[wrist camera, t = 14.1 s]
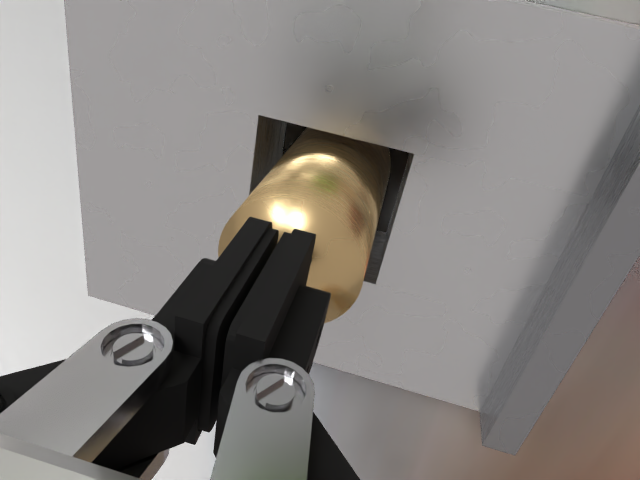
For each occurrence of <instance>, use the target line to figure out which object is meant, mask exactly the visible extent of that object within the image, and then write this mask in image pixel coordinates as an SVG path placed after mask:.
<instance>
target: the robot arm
mask: <svg viewBox="0 0 640 480" xmlns="http://www.w3.org/2000/svg"><path fill="white" fill-rule="evenodd" d="M278 236H279V231H278V230H276V229H273V228H272V222H269V221H265V220H261V219H258V218H254V217H249V218H248V219H247V221H246V222H245V223H244V225H243V226H242V227H241V229H240V230H239V231H238V233H237V234H236V235H235V236H234V238H233V239H232V240H231V242H230V243H229V244H228V246H227V247H226V248H225V250H224V251H223V252H222V254H221V255H220V256H219V258H218V259H217V260H216V261H215V260H211V259H208V258H203V259H201V260H200V261H199V262H198V264H197V265H196V266H195V267H194V269H193V270H192V271H191V272H190V274H189V275H188V276H187V277H186V279H185V280H184V281H183V282H182V284H181V285H180V286H179V287H178V288H177V290H176V291H175V292H174V293H173V295H172V296H171V297H170V298H169V300H168V301H167V302H166V303H165V305H164V306H163V307H162V308H161V310H160V311H159V312H158V313H157V314H156V316H155V317H154V318H153V319H152V320H148V319H137V318H134V319H127V320H122V321H119V322H116V323H113V324H111V325H109V326H108V327H106V328H104V329H103V330H101V331H100V332H99V333H98V334H97V335H95V336H94V337H93V338H92V339H91V340H89V341H88V342H87V343H86V344H84V345H83V346H82V347H81V348H80V349H78V350H77V351H76V352H75V353H73V354H72V355H71V356H70V357H69V358H67V359H65V360H61V361H58V362H54V363H50V364H46V365H42V366H38V367H35V368H31V369H27V370H23V371H19V372H15V373H12V374H8V375H4V376H0V480H151V479H152V478H153V477H154V475H155V474H156V473H157V471H158V470H159V469H160V467H161V466H162V465H163V463H164V462H165V460H166V458H167V456H168V454H169V449H170V448H172V447H175V446H177V445H180V444H182V443H184V442H187V443H190V444H194V445H195V444H196V442H197V440H198V438H199V436H200V434H201V432H202V430H203V431H206V432H210V431H211V430H212V428H213V426H214V424H215V422H216V420H217V422H216V432H215V442H214V451H213V453H214V455H215V457H216V461H215V465H214V468H213V472H212V475H211V479H210V480H360V479H359V477H358V476H357V475H356V473H355V472H354V470H353V469H352V467H351V466H350V464H349V463H348V462H347V460H346V459H345V457H344V456H343V454H342V453H341V451H340V450H339V448H338V447H337V446H336V444H335V443H334V441H333V440H332V438H331V437H330V435H329V434H328V433H327V431H326V430H325V428H324V427H323V425H322V424H321V422H320V421H319V419H318V418H317V417H316V415H315V414H314V412H313V407H314V396H315V391H314V384H313V382H312V380H311V378H310V376H309V372H310V369H311V366H312V363H313V360H314V357H315V354H316V350H317V347H318V344H319V340H320V337H321V333H322V330H323V326H324V322H325V318H326V314H327V310H328V306H329V302H330V297H331V293H330V292H326V291H322V290H319V289H315V288H312V287H308V286H306V284H307V279H308V274H309V269H310V264H311V259H312V255H313V250H314V245H315V240H316V234H314V233H310V232H306V231H302V230H299V229H294V230H293V231H292V233H287V232H284V233H283V235H282V237H281V238H280V240H279V242H278ZM277 242H278V243H277Z"/></svg>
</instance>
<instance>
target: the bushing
mask: <svg viewBox="0 0 640 480" xmlns="http://www.w3.org/2000/svg"><path fill="white" fill-rule="evenodd" d="M390 171H391V157H390V153H389V149H388V147H385V146H381V145H377V144H373V143H369V142H365V141H361V140H357V139H353V138H349V137H345V136H341V135H337V134H333V133H329V132H325V131H321V130H317V129H313V128H309V127H307V128H306V129H305V130H304V131H303V132H302V134H301V135H300V136H299V137H298V138H297V139H296V141H295V142H294V143H293V144H292V145H291V147H290V148H289V149H288V150H287V151H286V153H285V154H284V155H283V156H282V157H281V158H280V160H279V161H278V162H277V163H276V164H275V166H274V167H273V168H272V169H271V170H270V172H269V173H268V174H267V175H266V176H265V177H264V179H263V180H262V181H261V182H260V183H259V185H258V186H257V187H256V188H255V189H254V190H253V192H252V193H251V194H250V195H249V196H248V198H247V199H246V200H245V201H244V202H243V204H242V205H241V206H240V207H239V208H238V209H237V211H236V212H235V213H234V214H233V215H232V217H231V218H230V219H229V220H228V222H227V223H226V225H225V227H224V229H223V230H222V233H221V236H220V239H219V245H218V258H219V256H220V255H221V254H222V252H223V251H224V250H225V248H226V247H227V246H228V244H229V243H230V242H231V240H232V239H233V238H234V236H235V235H236V234H237V233H238V231H239V230H240V229H241V227H242V226H243V225H244V223H245V222H246V221H247V219H248V218H249V217H254V218H258V219H261V220H265V221H269V222H272V228H273V229H276V230H278V231H279V236H278V242H279V240H280V238H281V237H282V235H283V233H284V232H287V233H292V231H293V230H294V229H299V230H302V231H306V232H310V233H314V234H316V240H315V245H314V250H313V255H312V259H311V264H310V269H309V274H308V279H307V284H306V286H308V287H312V288H315V289H319V290H322V291H326V292H330V293H331V297H330V302H329V306H328V310H327V314H326V318H325V322H324V323H327V322H330V321H332V320H334V319H336V318H338V317H340V316H341V315H343V314H344V313H345V312H346V311H347V310H348V309H350V307H351V306H352V305H353V304H354V302H355V301H356V299H357V298H358V296H359V294H360V291H361V288H362V285H363V281H364V277H365V273H366V269H367V265H368V261H369V257H370V253H371V249H372V244H373V240H374V236H375V232H376V228H377V224H378V220H379V216H380V212H381V208H382V204H383V200H384V196H385V192H386V188H387V184H388V180H389V176H390ZM278 242H277V243H278Z"/></svg>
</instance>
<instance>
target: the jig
mask: <svg viewBox="0 0 640 480" xmlns="http://www.w3.org/2000/svg"><path fill="white" fill-rule="evenodd" d="M64 4H65V16H66V29H67V41H68V53H69V65H70V78H71V90H72V102H73V114H74V127H75V139H76V151H77V164H78V176H79V188H80V200H81V213H82V225H83V237H84V249H85V262H86V274H87V286H88V296H92V297H95V298H98V299H102V300H105V301H109V302H112V303H115V304H119V305H122V306H125V307H129V308H132V309H136V310H139V311H142V312H146V313H149V314H152V315H156V314H157V313H158V312H159V311H160V310H161V308H162V307H163V306H164V305H165V303H166V302H167V301H168V300H169V298H170V297H171V296H172V295H173V293H174V292H175V291H176V290H177V288H178V287H179V286H180V285H181V284H182V282H183V281H184V280H185V279H186V277H187V276H188V275H189V274H190V272H191V271H192V270H193V269H194V267H195V266H196V265H197V264H198V262H199V261H200V260H201V259H203V258H208V259H211V260H215V261H216V260H217V259H218V245H219V239H220V236H221V233H222V230H223V229H224V227H225V225H226V223H227V222H228V220H229V219H230V218H231V217H232V215H233V214H234V213H235V212H236V211H237V209H238V208H239V207H240V206H241V205H242V204H243V202H244V201H245V200H246V199H247V198H248V196H249V195H250V194H251V193H252V192H253V190H254V189H255V188H256V187H257V186H258V185H259V183H260V182H261V181H262V180H263V179H264V177H265V176H266V175H267V174H268V173H269V172H270V170H271V169H272V168H273V167H274V166H275V164H276V163H277V162H278V161H279V160H280V158H281V157H282V152H283V145H284V138H285V132H286V125H287V122H289V123H293V124H297V125H301V126H305V127H309V128H313V129H317V130H321V131H325V132H329V133H333V134H337V135H341V136H345V137H349V138H353V139H357V140H361V141H365V142H369V143H373V144H377V145H381V146H385V147H389V148H393V149H397V150H401V151H405V152H409V153H410V154H409V157H408V161H407V164H406V168H405V171H404V174H403V178H402V181H401V185H400V188H399V191H398V195H397V198H396V202H395V205H394V209H393V212H392V215H391V219H390V222H389V226H388V229H387V233H386V232H382V231H378V230H376V232H375V236H374V240H373V244H372V249H371V253H370V257H369V261H368V265H367V269H366V273H365V277H364V281H363V285H362V288H361V291H360V294H359V296H358V298H357V299H356V301H355V302H354V304H353V305H352V306H351V307H350V309H348V310H347V311H346V312H345V313H344V314H343V315H341V316H340V317H338V318H336V319H334V320H332V321H330V322H327V323H324V326H323V330H322V333H321V337H320V340H319V344H318V347H317V350H316V354H315V357H314V360H313V362H314V363H317V364H321V365H324V366H327V367H331V368H334V369H337V370H341V371H344V372H348V373H351V374H354V375H358V376H361V377H364V378H368V379H371V380H375V381H378V382H381V383H385V384H388V385H391V386H395V387H398V388H401V389H405V390H408V391H412V392H415V393H418V394H422V395H425V396H428V397H432V398H435V399H438V400H442V401H445V402H449V403H452V404H455V405H459V406H462V407H465V408H469V409H472V410H475V411H479V412H480V424H481V436H482V446H485V447H489V448H492V449H495V450H499V451H502V452H505V453H508V454H512V455H516V453H517V452H518V450H519V448H520V447H521V445H522V444H523V442H524V440H525V439H526V437H527V436H528V434H529V432H530V431H531V429H532V428H533V426H534V424H535V423H536V421H537V419H538V418H539V416H540V415H541V413H542V411H543V410H544V408H545V407H546V405H547V403H548V402H549V400H550V399H551V397H552V395H553V394H554V392H555V390H556V389H557V387H558V386H559V384H560V382H561V381H562V379H563V378H564V376H565V374H566V373H567V371H568V370H569V368H570V366H571V365H572V363H573V361H574V360H575V358H576V357H577V355H578V353H579V352H580V350H581V349H582V347H583V345H584V344H585V342H586V341H587V339H588V337H589V336H590V334H591V333H592V331H593V329H594V328H595V326H596V324H597V323H598V321H599V320H600V318H601V316H602V315H603V313H604V312H605V310H606V308H607V307H608V305H609V304H610V302H611V300H612V299H613V297H614V295H615V294H616V292H617V291H618V289H619V287H620V286H621V284H622V283H623V281H624V279H625V278H626V276H627V275H628V273H629V271H630V270H631V268H632V266H633V265H634V263H635V262H636V260H637V258H638V257H639V255H640V25H637V24H632V23H627V22H623V21H618V20H613V19H609V18H604V17H599V16H595V15H590V14H585V13H581V12H576V11H571V10H567V9H562V8H557V7H553V6H548V5H543V4H539V3H534V2H530V1H525V0H64Z"/></svg>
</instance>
